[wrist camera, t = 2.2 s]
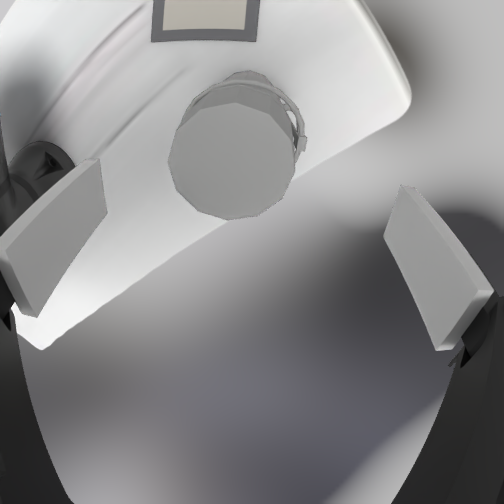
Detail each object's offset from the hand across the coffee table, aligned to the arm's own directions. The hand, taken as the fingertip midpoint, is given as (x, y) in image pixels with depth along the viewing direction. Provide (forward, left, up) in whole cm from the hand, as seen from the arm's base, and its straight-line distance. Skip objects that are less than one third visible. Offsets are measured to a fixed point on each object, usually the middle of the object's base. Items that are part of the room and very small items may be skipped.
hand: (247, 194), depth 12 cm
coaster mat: (-7, +14, -28) cm, 32 cm away
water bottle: (0, 0, -28) cm, 28 cm away
